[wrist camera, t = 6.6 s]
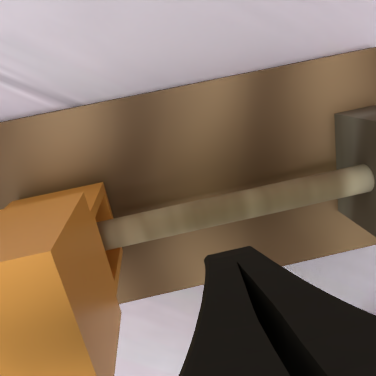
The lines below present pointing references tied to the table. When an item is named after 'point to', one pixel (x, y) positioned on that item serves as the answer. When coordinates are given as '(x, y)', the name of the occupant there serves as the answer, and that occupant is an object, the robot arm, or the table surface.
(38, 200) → the orange notched block
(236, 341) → the robot arm
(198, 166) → the cord rig
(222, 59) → the table surface
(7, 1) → the table surface
